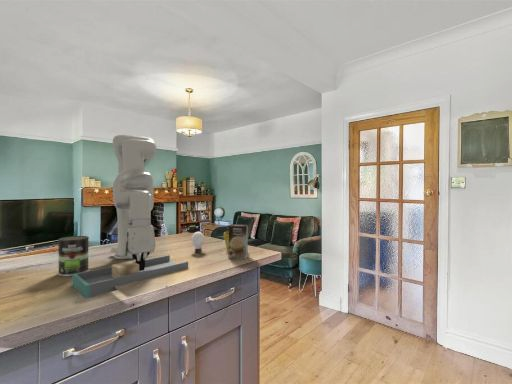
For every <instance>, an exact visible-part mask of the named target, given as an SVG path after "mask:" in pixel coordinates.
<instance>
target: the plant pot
mask: <svg viewBox="0 0 512 384" xmlns="http://www.w3.org/2000/svg"><path fill="white" fill-rule="evenodd" d="M223 240H224V241H225V247H226V251H227V252H229V231H224V232H223Z"/></svg>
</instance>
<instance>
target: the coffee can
mask: <svg viewBox="0 0 512 384" xmlns="http://www.w3.org/2000/svg"><path fill="white" fill-rule="evenodd" d="M89 238H90V237H89V236H87V235H71V236H64V237H60V238H58V240H57V242H58V276H60V277H72V274H75V273H80V272H85V271H90V270H89V240H90V239H89Z"/></svg>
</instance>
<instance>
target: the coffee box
mask: <svg viewBox="0 0 512 384" xmlns="http://www.w3.org/2000/svg"><path fill="white" fill-rule="evenodd" d="M228 232H229V251H228V257H227V258H228V259H239V260H246V259H248V258H247V257H248V250H249V249H248V246H249V245H248V244H249V243H248V242H249V240H248V239H249V224H238V223H237V224H235V223H234V224H233V223H231V224H229V226H228Z"/></svg>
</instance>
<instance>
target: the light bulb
mask: <svg viewBox="0 0 512 384" xmlns="http://www.w3.org/2000/svg"><path fill="white" fill-rule="evenodd" d="M204 243H205V236H204V234H203V232H201V231H196V232H194V233H193V234H192V235H191V245H192V246H193V247H194V253H195V254H200V253H203V252H202V251H203V250H202V247H203V245H204Z"/></svg>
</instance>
